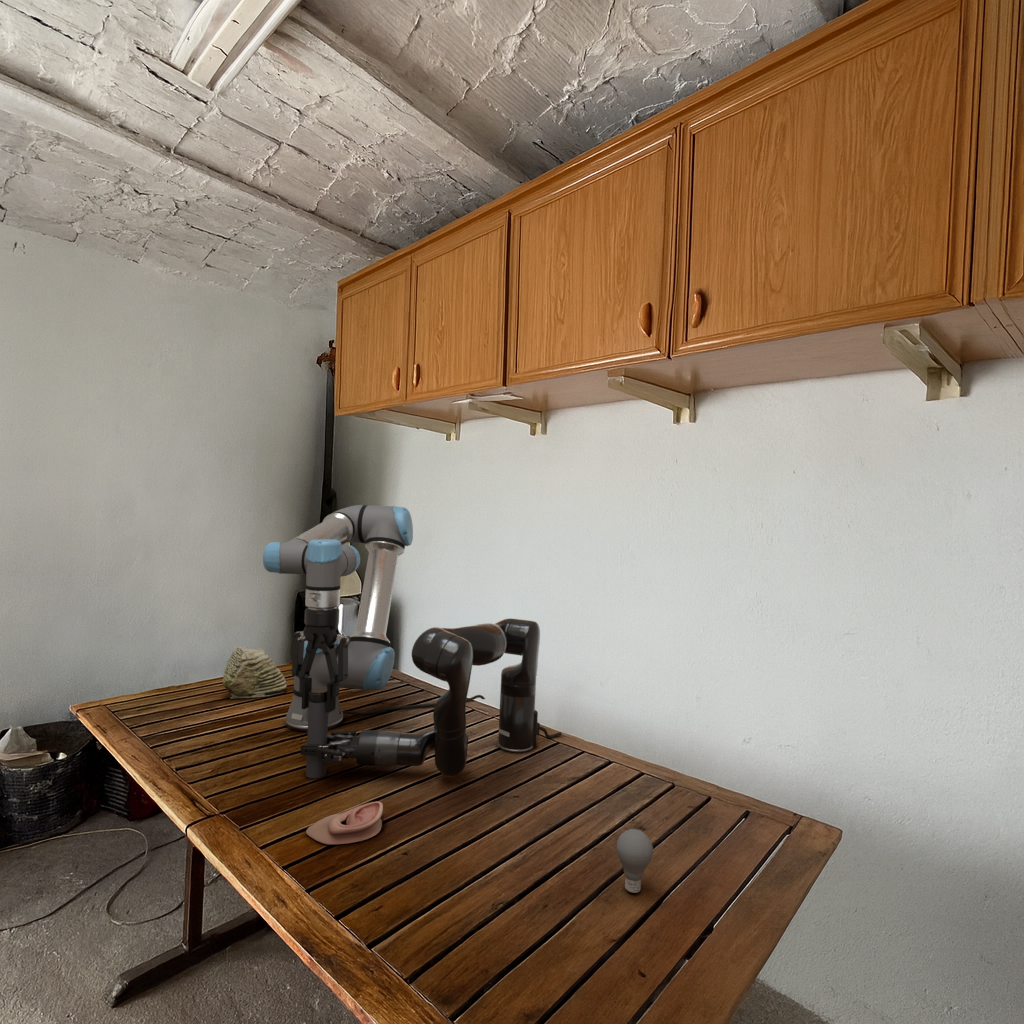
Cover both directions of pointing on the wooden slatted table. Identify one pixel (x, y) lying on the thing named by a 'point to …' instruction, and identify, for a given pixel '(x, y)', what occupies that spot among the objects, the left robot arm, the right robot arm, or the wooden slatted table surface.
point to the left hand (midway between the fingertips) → (318, 708)
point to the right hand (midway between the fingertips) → (305, 745)
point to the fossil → (252, 674)
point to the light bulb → (634, 857)
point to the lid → (317, 694)
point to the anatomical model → (348, 825)
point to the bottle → (316, 737)
